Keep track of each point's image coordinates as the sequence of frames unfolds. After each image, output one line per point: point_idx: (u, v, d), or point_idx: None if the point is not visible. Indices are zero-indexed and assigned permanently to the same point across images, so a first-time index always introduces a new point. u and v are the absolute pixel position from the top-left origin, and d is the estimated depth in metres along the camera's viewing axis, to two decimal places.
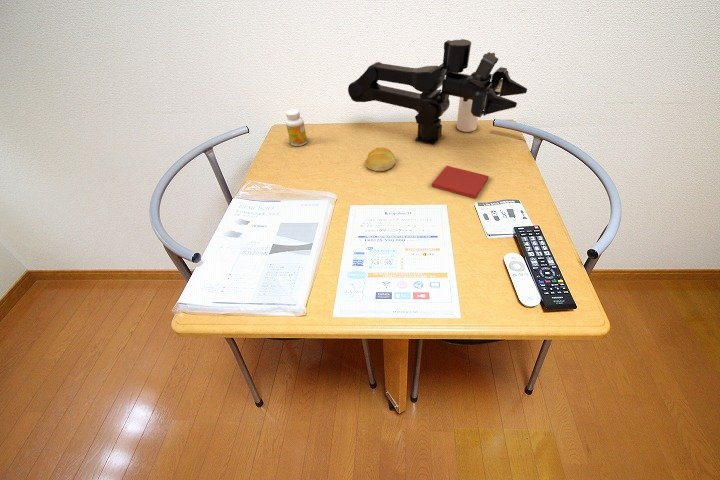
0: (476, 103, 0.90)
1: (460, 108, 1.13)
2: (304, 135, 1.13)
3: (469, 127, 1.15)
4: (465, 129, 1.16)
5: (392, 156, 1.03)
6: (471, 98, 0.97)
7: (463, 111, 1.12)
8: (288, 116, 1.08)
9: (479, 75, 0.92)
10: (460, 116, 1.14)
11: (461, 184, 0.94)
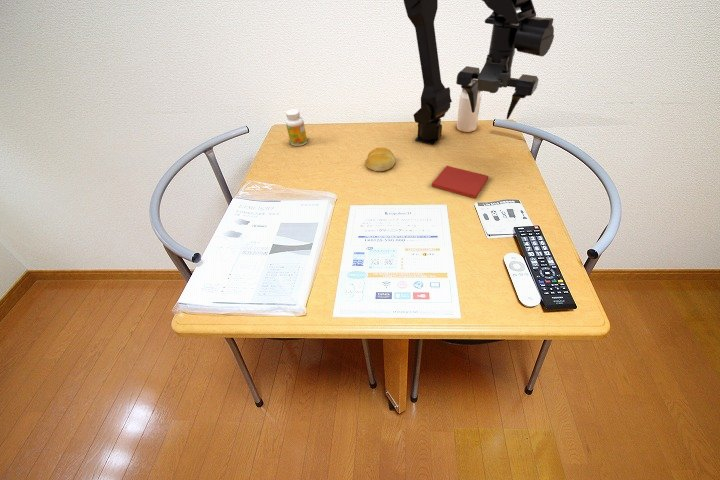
0: None
1: (460, 108, 1.13)
2: (304, 135, 1.13)
3: (469, 127, 1.15)
4: (465, 129, 1.16)
5: (392, 156, 1.03)
6: None
7: (463, 111, 1.12)
8: (288, 116, 1.08)
9: None
10: (460, 116, 1.14)
11: (461, 184, 0.94)
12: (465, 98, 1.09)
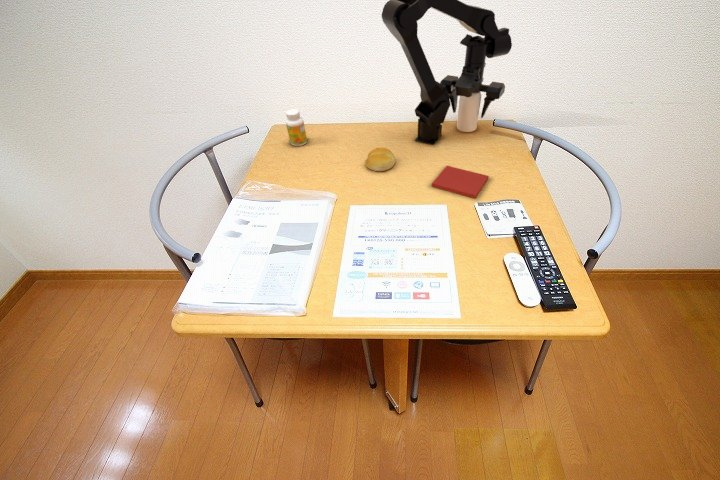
0: None
1: (460, 108, 1.13)
2: (304, 135, 1.13)
3: (469, 127, 1.15)
4: (465, 129, 1.16)
5: (392, 156, 1.03)
6: None
7: (463, 111, 1.12)
8: (288, 116, 1.08)
9: None
10: (460, 116, 1.14)
11: (461, 184, 0.94)
12: (465, 98, 1.09)
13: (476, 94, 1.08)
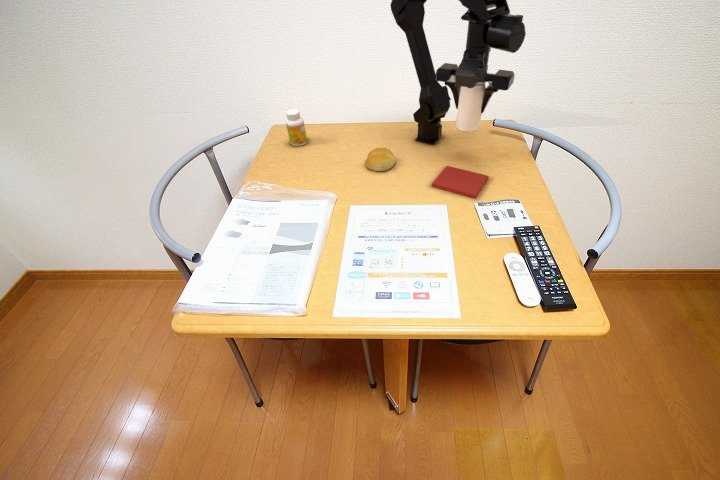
0: None
1: (460, 103, 0.94)
2: (304, 135, 1.13)
3: (471, 126, 0.97)
4: (466, 129, 0.97)
5: (392, 156, 1.03)
6: None
7: (464, 107, 0.94)
8: (288, 116, 1.08)
9: None
10: (461, 113, 0.96)
11: (461, 184, 0.94)
12: (467, 91, 0.91)
13: (480, 86, 0.90)
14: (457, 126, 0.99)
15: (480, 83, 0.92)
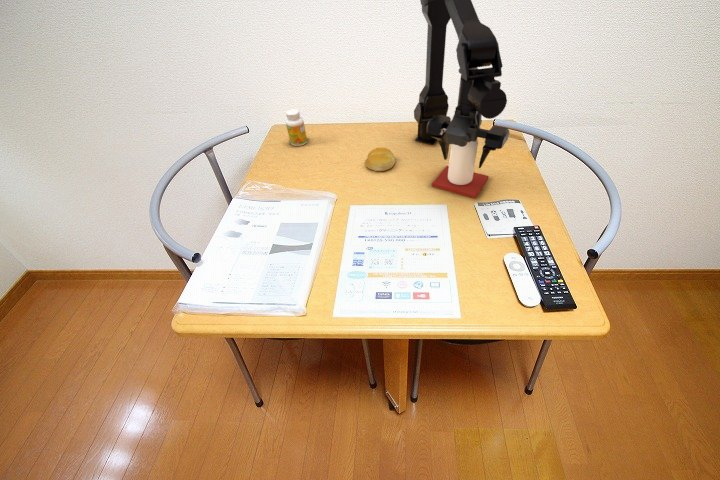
0: None
1: (451, 157, 0.90)
2: (304, 135, 1.13)
3: (463, 180, 0.92)
4: (458, 182, 0.93)
5: (392, 156, 1.03)
6: None
7: (455, 162, 0.89)
8: (288, 116, 1.08)
9: None
10: (452, 166, 0.91)
11: None
12: (458, 147, 0.87)
13: (471, 142, 0.86)
14: (449, 179, 0.94)
15: None
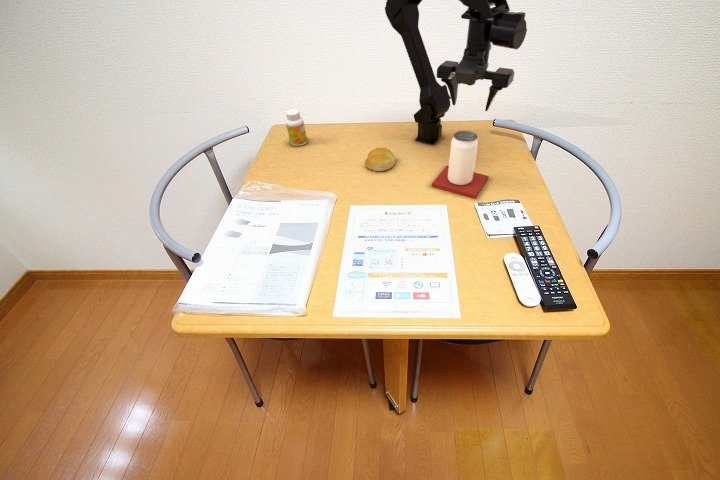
0: None
1: (451, 157, 0.90)
2: (304, 135, 1.13)
3: (463, 180, 0.92)
4: (458, 182, 0.93)
5: (392, 156, 1.03)
6: None
7: (455, 162, 0.89)
8: (288, 116, 1.08)
9: None
10: (452, 166, 0.91)
11: None
12: (458, 147, 0.87)
13: (471, 142, 0.86)
14: (449, 179, 0.94)
15: (472, 137, 0.87)
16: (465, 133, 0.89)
